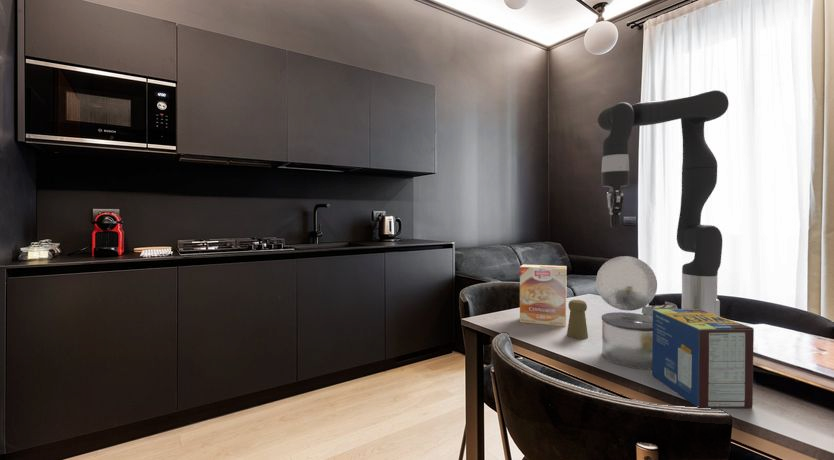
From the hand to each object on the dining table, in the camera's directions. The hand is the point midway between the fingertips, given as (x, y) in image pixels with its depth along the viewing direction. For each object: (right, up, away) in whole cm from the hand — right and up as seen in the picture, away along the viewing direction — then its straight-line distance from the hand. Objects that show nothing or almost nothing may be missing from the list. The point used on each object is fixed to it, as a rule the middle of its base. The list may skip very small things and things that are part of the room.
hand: (614, 227), depth 118 cm
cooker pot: (-6, -34, -20) cm, 40 cm away
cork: (-12, -34, -2) cm, 36 cm away
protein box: (-2, -35, -38) cm, 51 cm away
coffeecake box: (-18, -33, +14) cm, 40 cm away
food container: (+12, -33, -6) cm, 36 cm away
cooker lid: (-3, -16, -12) cm, 20 cm away
